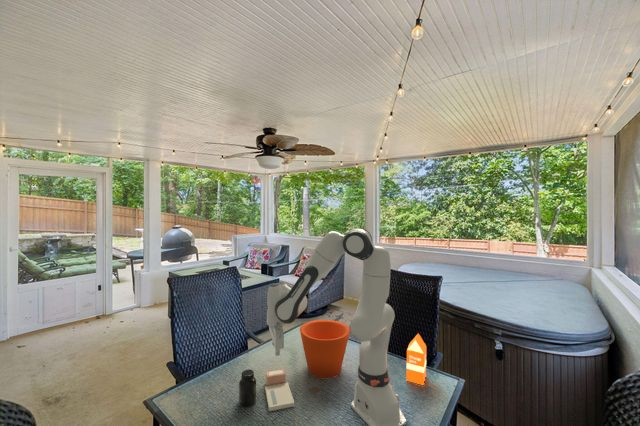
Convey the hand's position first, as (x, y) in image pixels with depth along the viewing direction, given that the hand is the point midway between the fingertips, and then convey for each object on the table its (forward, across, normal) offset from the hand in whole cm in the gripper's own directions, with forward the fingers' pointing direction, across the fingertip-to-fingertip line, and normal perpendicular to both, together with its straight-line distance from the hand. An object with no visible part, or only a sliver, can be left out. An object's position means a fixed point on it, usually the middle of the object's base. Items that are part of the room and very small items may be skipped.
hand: (275, 349), depth 124 cm
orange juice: (+15, -14, -64) cm, 68 cm away
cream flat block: (+15, -10, 0) cm, 18 cm away
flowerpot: (+16, +5, -25) cm, 30 cm away
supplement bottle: (+16, -9, +12) cm, 22 cm away
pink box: (+15, 0, 0) cm, 16 cm away
